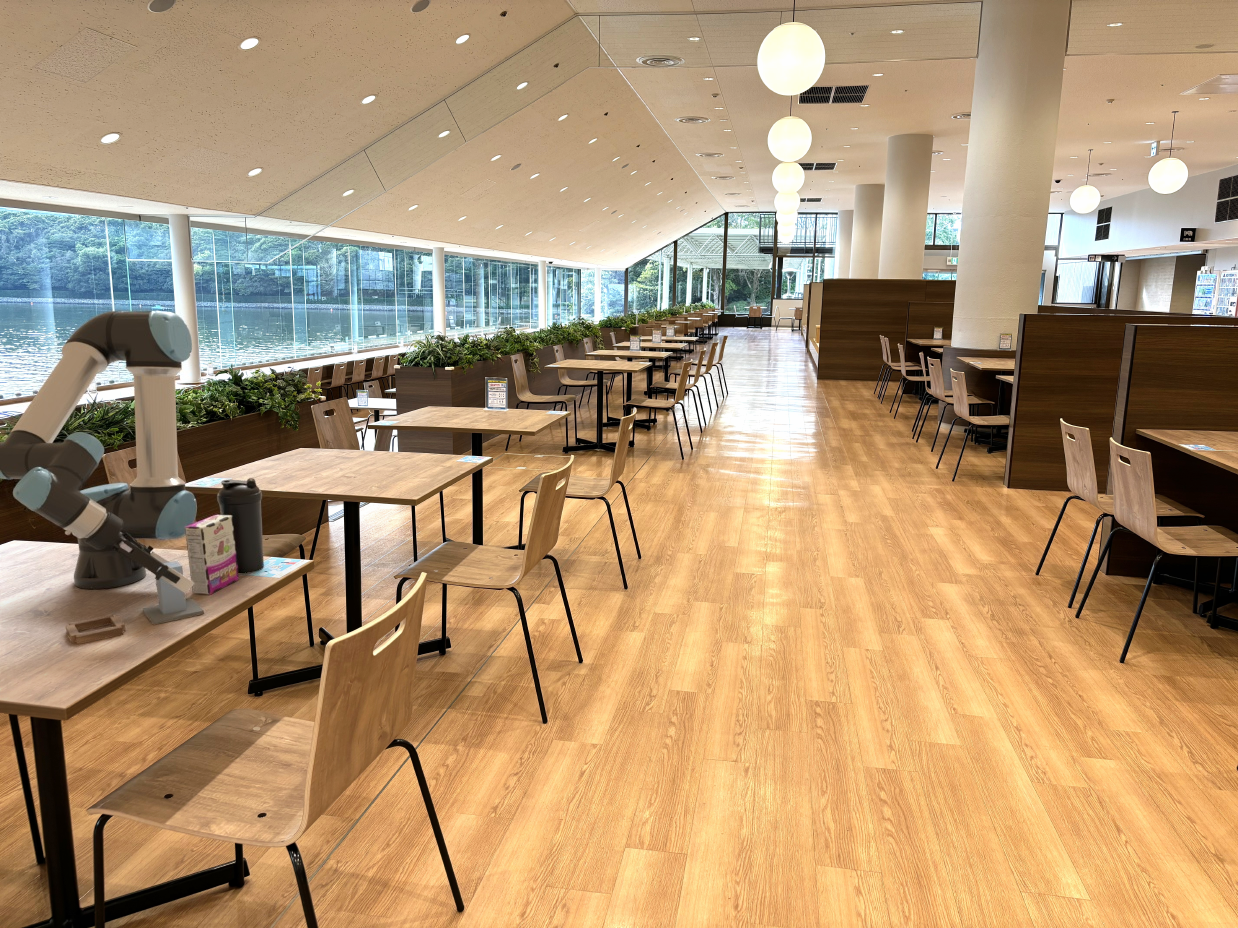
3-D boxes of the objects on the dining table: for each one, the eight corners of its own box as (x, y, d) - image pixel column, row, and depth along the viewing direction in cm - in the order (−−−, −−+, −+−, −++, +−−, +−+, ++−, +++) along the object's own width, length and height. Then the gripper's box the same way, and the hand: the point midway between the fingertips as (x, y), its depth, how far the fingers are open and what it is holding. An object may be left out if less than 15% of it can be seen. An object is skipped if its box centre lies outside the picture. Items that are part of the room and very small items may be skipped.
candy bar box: (221, 578, 211) (215, 513, 208) (239, 580, 210) (233, 514, 207) (190, 594, 200) (183, 525, 197) (209, 595, 199) (202, 527, 196)
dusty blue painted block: (159, 608, 188) (154, 564, 186) (181, 603, 191) (177, 560, 189) (163, 614, 185) (159, 569, 183) (186, 609, 188) (182, 565, 186)
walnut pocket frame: (65, 630, 178) (64, 624, 178) (117, 620, 184) (116, 613, 184) (73, 645, 171) (72, 638, 170) (127, 633, 177) (126, 626, 176)
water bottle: (224, 565, 221) (216, 477, 217) (267, 560, 225) (260, 474, 221) (223, 576, 212) (215, 485, 208) (268, 571, 216) (260, 482, 212)
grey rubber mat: (142, 611, 189) (142, 608, 189) (191, 601, 195) (191, 597, 195) (153, 624, 181) (152, 621, 181) (204, 613, 188) (203, 610, 187)
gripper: (71, 527, 184) (155, 579, 197) (92, 553, 165) (184, 609, 178) (96, 499, 186) (178, 552, 199) (120, 522, 168) (209, 580, 180)
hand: (181, 579), depth 188 cm, fingers open, 13 cm apart
